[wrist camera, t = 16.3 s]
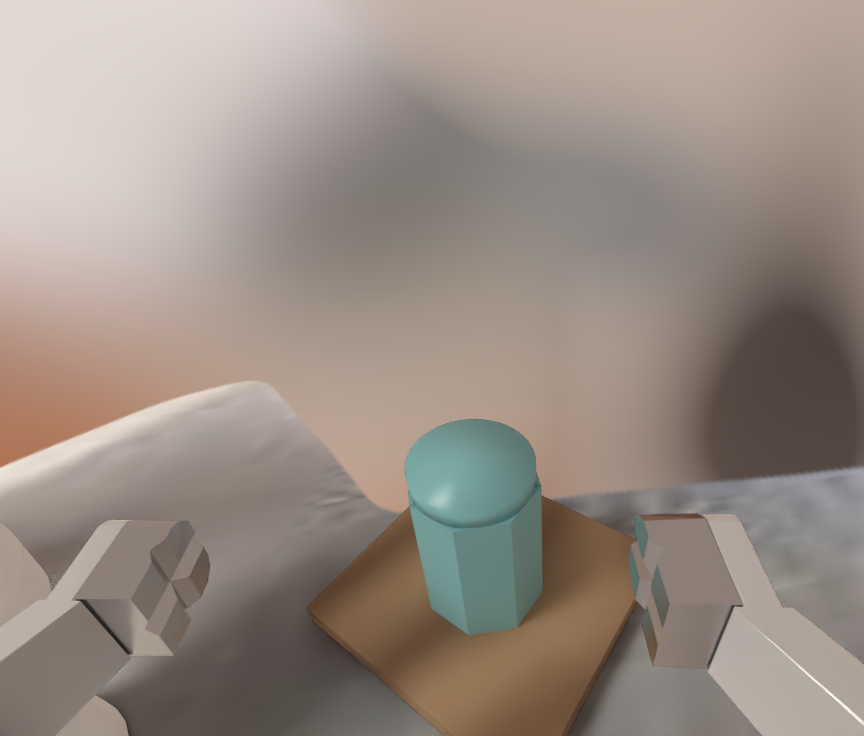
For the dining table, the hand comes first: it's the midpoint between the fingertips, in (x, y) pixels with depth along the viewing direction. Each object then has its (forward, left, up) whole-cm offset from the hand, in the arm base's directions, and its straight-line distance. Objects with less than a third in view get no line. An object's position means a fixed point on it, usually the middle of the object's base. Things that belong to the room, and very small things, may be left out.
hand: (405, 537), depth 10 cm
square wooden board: (-6, +10, -20) cm, 23 cm away
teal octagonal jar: (-6, +10, -18) cm, 22 cm away
